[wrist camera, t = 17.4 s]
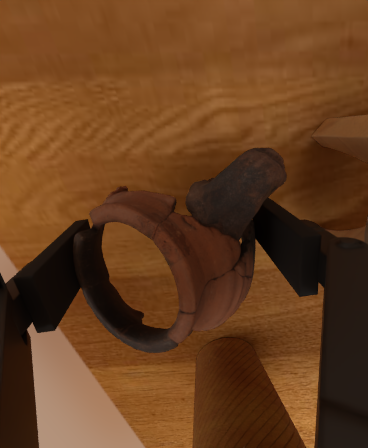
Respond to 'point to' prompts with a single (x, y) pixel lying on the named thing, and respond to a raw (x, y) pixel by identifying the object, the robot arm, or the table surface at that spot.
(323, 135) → the planter
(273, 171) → the pottery mug
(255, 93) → the table surface
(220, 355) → the disposable coffee cup
